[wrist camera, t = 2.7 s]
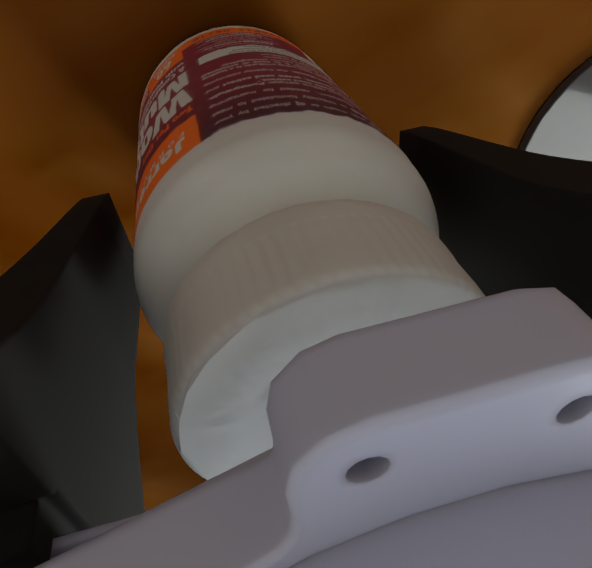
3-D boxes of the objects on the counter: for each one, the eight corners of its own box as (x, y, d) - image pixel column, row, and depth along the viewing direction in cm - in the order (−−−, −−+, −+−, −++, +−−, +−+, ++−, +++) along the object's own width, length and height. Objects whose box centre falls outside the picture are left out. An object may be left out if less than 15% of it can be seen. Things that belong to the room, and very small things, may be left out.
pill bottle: (129, 12, 13) (87, 239, 4) (343, 29, 14) (621, 221, 6) (147, 211, 17) (144, 542, 8) (315, 208, 18) (461, 484, 10)
